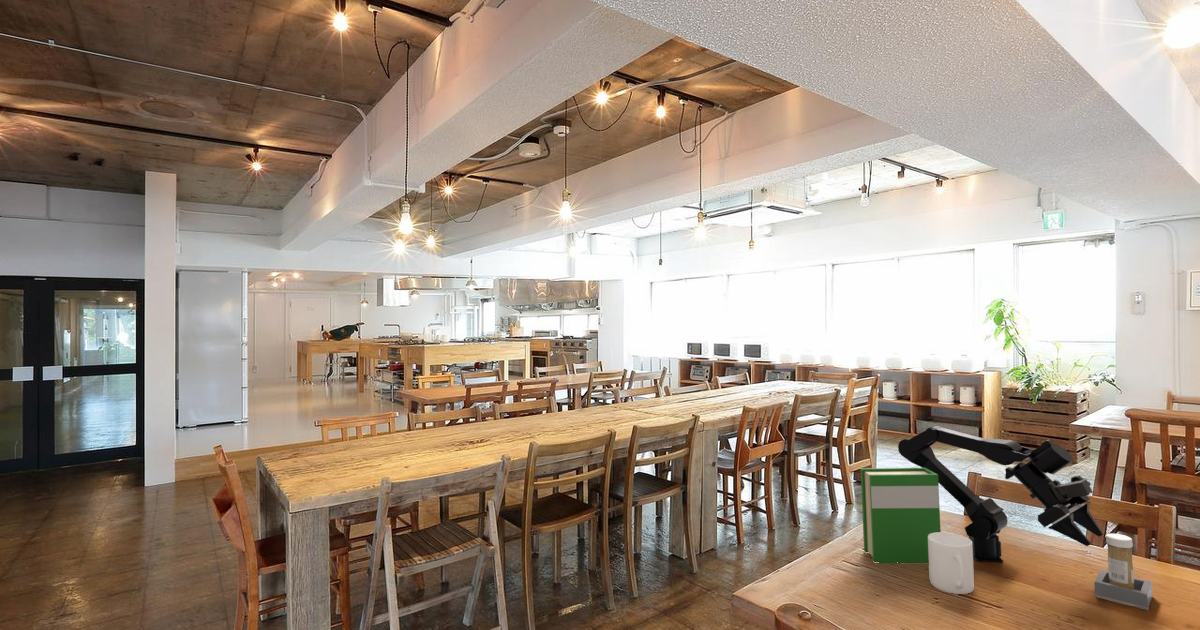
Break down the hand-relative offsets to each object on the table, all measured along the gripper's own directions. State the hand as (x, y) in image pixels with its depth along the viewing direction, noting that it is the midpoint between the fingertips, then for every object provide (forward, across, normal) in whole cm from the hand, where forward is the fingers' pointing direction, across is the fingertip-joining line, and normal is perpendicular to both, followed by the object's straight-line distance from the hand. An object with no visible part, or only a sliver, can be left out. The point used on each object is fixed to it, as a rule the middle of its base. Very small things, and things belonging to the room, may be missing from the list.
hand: (1095, 540), depth 137 cm
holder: (+12, 0, +5) cm, 13 cm away
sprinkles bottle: (+11, 0, +5) cm, 12 cm away
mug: (-6, -25, +23) cm, 35 cm away
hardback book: (-18, -17, +36) cm, 43 cm away
